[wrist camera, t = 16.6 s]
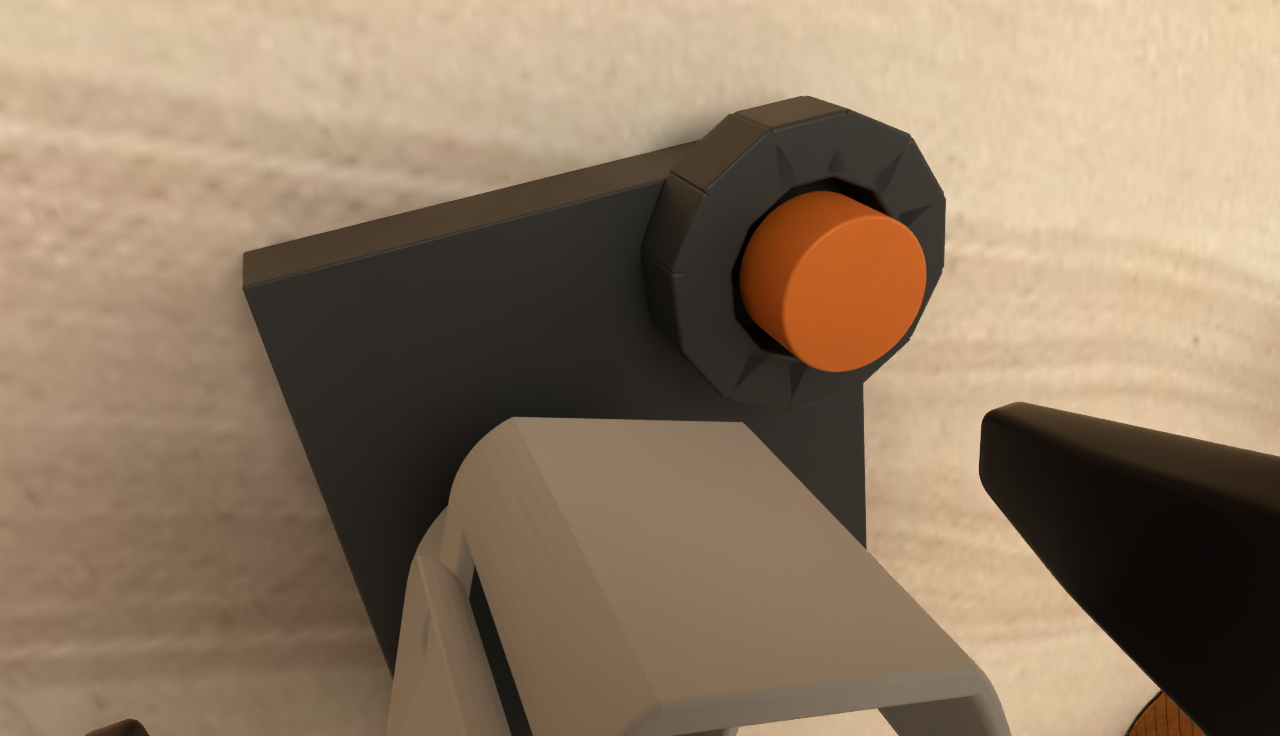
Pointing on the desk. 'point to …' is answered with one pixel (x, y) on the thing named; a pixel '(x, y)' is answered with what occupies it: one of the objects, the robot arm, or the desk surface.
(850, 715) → the desk surface
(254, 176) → the desk surface
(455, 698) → the beige plastic holder
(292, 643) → the desk surface
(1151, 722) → the disposable coffee cup
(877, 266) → the button
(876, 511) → the desk surface
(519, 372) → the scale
